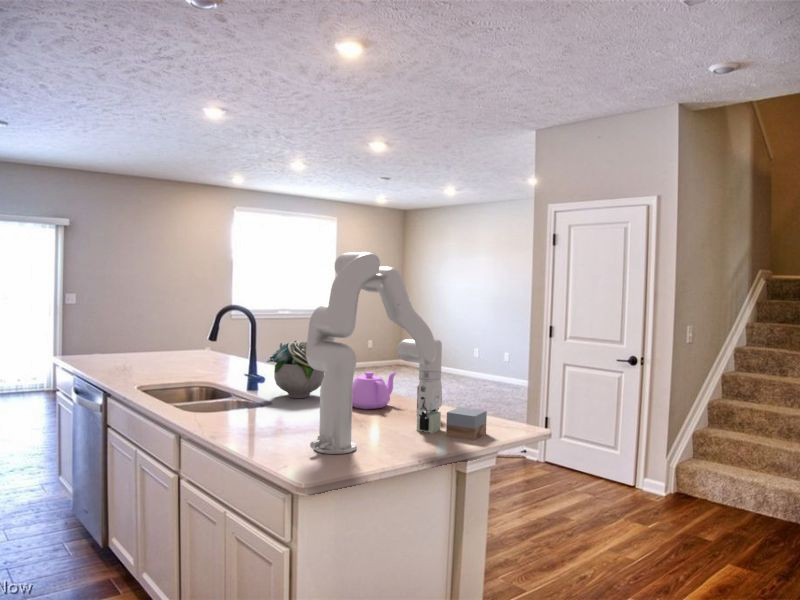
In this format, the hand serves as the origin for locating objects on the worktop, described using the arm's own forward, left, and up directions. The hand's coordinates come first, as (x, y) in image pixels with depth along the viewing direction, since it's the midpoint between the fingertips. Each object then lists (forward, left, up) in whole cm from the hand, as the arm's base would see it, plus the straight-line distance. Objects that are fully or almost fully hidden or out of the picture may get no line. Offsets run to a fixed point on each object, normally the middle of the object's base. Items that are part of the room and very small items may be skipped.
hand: (428, 427), depth 198 cm
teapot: (+22, +36, -1) cm, 42 cm away
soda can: (+16, +9, -1) cm, 18 cm away
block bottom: (+2, -13, -1) cm, 13 cm away
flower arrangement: (+19, +72, -1) cm, 74 cm away
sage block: (0, 0, -1) cm, 1 cm away
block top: (+2, -13, +3) cm, 13 cm away
